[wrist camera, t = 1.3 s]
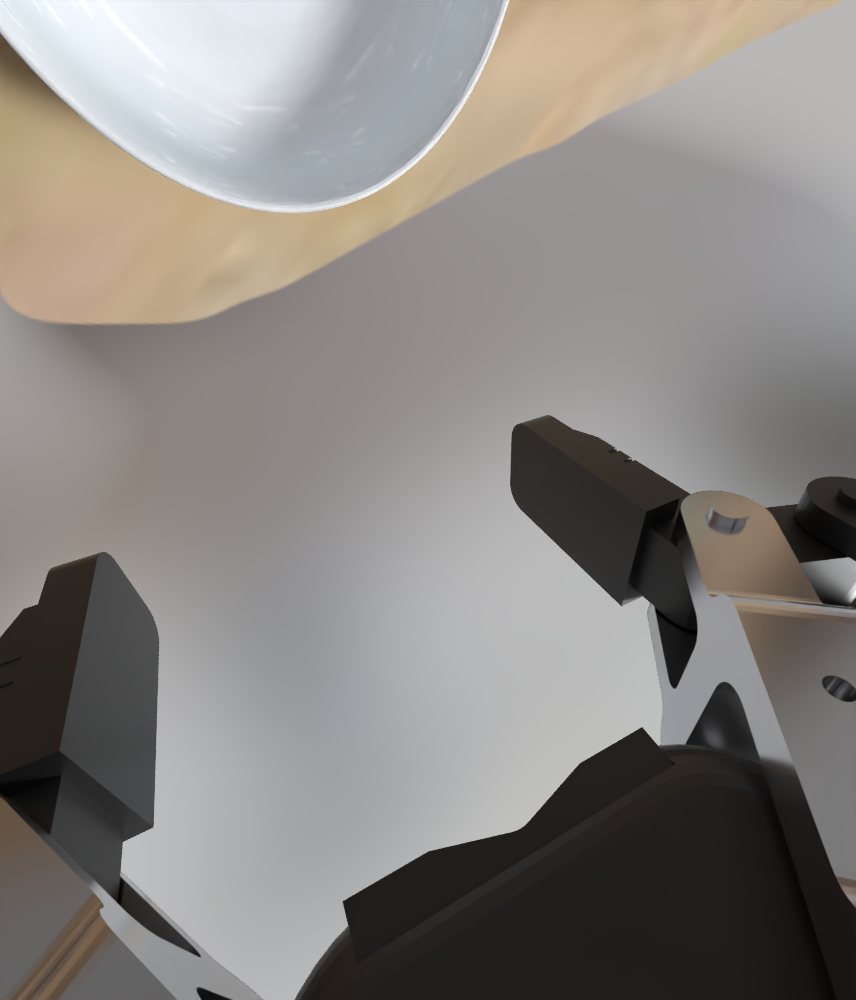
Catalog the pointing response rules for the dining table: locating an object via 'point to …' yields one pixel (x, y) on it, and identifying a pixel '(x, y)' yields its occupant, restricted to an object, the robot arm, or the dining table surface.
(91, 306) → the dining table surface
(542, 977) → the robot arm
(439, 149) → the dining table surface
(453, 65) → the serving bowl
